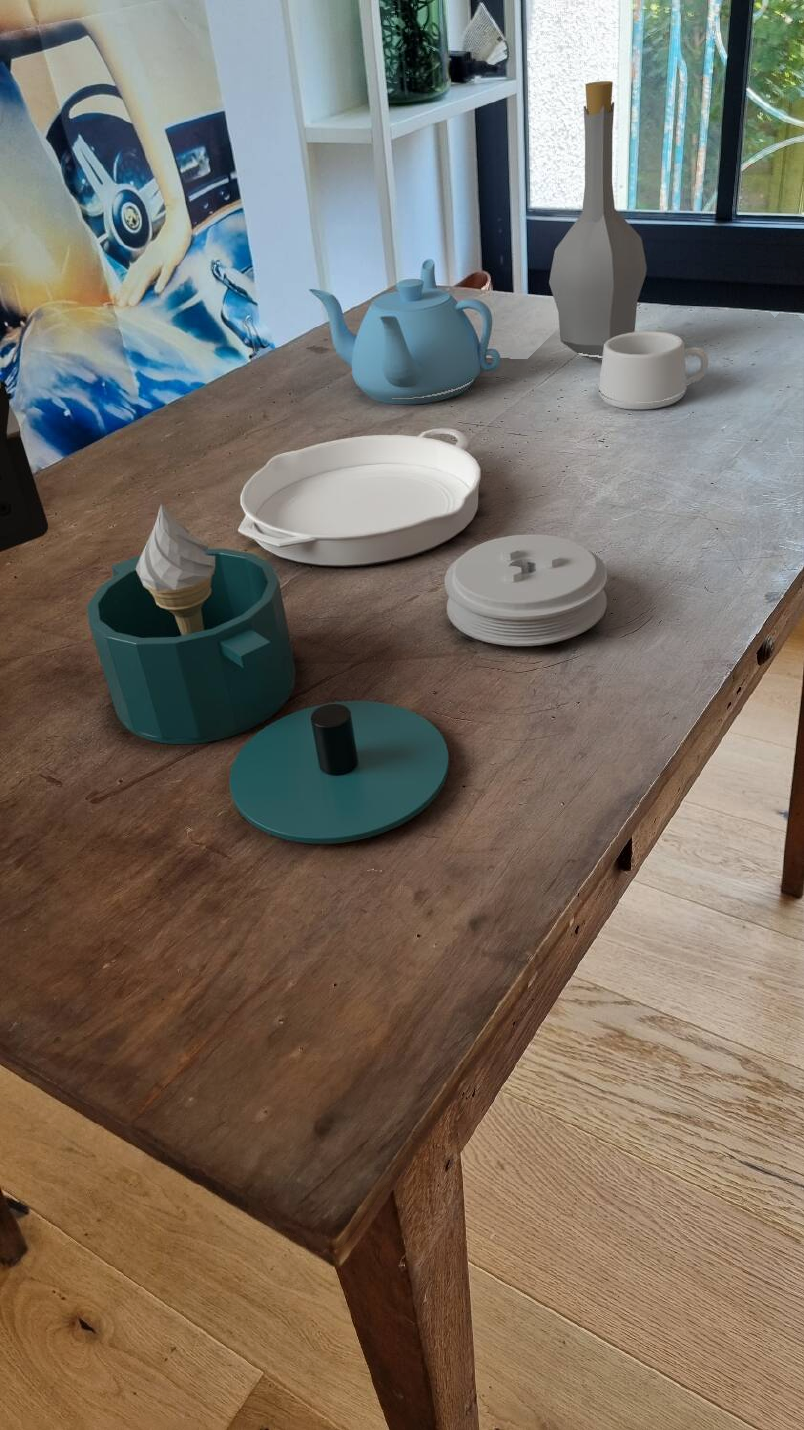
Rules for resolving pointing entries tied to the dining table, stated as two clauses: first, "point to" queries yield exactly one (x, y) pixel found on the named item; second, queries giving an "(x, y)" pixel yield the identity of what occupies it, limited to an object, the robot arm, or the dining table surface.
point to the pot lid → (339, 772)
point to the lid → (526, 590)
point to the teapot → (413, 342)
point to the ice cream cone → (177, 571)
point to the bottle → (597, 247)
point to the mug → (646, 369)
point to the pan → (362, 499)
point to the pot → (195, 653)
